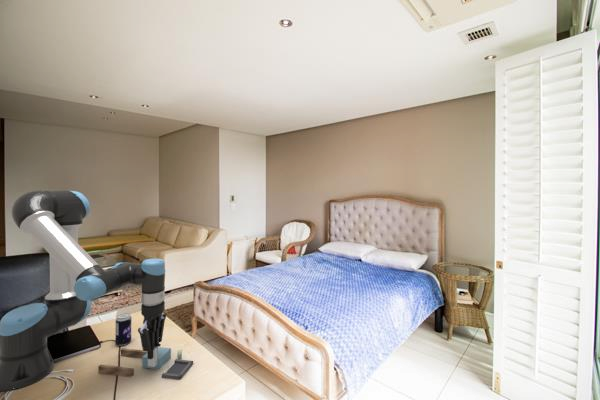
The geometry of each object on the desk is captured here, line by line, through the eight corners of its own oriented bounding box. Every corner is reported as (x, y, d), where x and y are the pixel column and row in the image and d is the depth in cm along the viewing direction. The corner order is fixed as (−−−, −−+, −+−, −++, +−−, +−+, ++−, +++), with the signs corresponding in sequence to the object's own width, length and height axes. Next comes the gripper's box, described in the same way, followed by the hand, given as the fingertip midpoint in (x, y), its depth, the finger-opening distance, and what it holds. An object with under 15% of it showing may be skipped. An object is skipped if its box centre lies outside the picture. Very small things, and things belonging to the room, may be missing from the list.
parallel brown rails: (98, 373, 99) (98, 366, 99) (122, 354, 110) (122, 348, 110) (131, 377, 98) (131, 370, 97) (152, 357, 109) (152, 351, 109)
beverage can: (123, 347, 115) (123, 319, 115) (112, 345, 116) (112, 317, 116) (134, 340, 120) (134, 313, 120) (123, 338, 122) (123, 312, 121)
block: (142, 367, 103) (142, 357, 103) (154, 356, 110) (154, 346, 110) (159, 369, 102) (159, 358, 102) (170, 358, 109) (170, 348, 109)
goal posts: (148, 356, 110) (148, 348, 110) (150, 353, 111) (150, 346, 111) (180, 359, 108) (180, 352, 108) (182, 357, 110) (182, 349, 110)
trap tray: (161, 377, 98) (161, 374, 98) (175, 362, 106) (176, 359, 106) (180, 379, 97) (180, 376, 97) (193, 364, 106) (193, 360, 106)
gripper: (150, 310, 94) (150, 378, 95) (173, 296, 107) (172, 356, 108) (130, 308, 95) (130, 375, 96) (155, 294, 108) (154, 354, 109)
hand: (152, 365), depth 102 cm, fingers closed
